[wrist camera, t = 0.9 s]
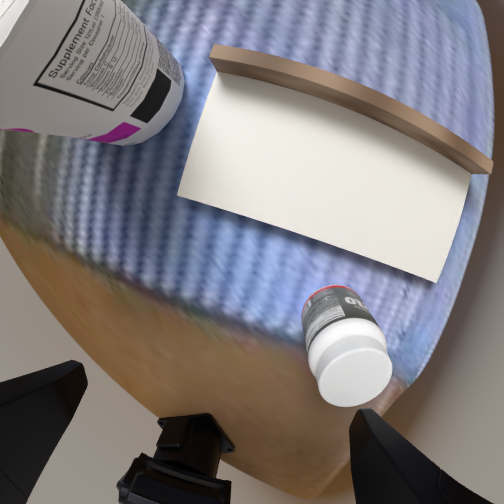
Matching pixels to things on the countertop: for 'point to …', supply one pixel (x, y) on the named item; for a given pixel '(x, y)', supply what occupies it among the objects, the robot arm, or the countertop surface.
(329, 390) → the pill bottle
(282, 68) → the shelf board
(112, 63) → the supplement can
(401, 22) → the countertop surface
